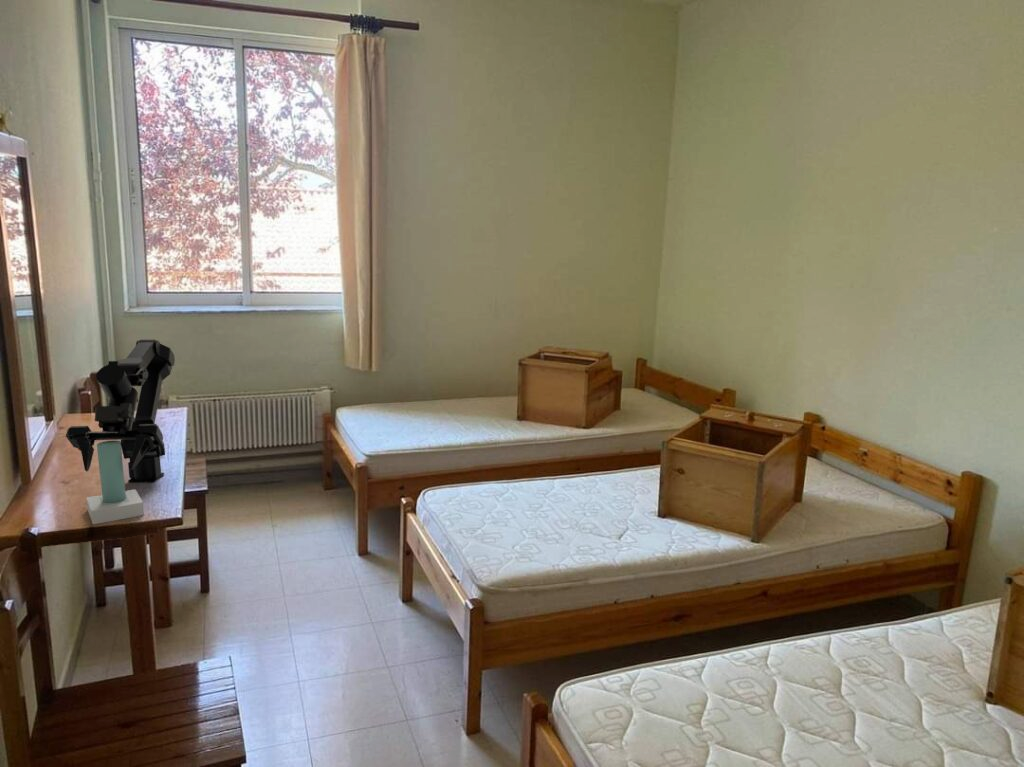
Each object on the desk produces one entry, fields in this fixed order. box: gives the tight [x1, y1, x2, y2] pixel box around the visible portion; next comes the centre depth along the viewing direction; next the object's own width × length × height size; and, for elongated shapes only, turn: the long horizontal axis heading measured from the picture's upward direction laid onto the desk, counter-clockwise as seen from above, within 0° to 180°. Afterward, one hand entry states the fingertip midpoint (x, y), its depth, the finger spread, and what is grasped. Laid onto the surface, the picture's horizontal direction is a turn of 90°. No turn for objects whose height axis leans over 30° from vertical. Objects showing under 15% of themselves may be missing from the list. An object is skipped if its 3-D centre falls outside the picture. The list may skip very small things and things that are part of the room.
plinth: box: [85, 489, 145, 525], centre depth 164 cm, size 10×10×3 cm
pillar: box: [96, 440, 126, 503], centre depth 163 cm, size 5×5×13 cm
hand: (109, 469), depth 161 cm, fingers open, 9 cm apart
